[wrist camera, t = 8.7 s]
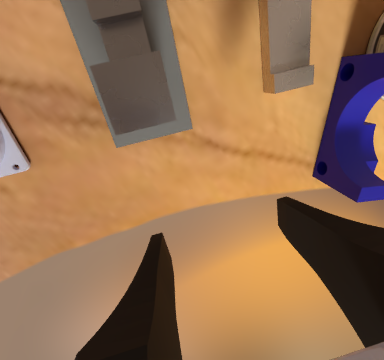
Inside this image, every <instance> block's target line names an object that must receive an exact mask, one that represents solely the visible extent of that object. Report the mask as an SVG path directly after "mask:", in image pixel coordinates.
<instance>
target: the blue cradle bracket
mask: <svg viewBox="0 0 384 360" xmlns="http://www.w3.org/2000/svg"><path fill="white" fill-rule="evenodd" d="M383 95H384V52H383V53H374V54H365V55H356V56H347V57H342V60H341V64H340V68H339V72H338V76H337V80H336V84H335V88H334V92H333V96H332V100H331V104H330V108H329V112H328V116H327V120H326V124H325V128H324V132H323V136H322V140H321V144H320V148H319V152H318V156H317V160H316V164H315V168H314V172H313V177H315V178H317V179H318V180H320V181H322V182H323V183H325V184H327V185H328V186H330V187H332V188H333V189H335V190H337V191H338V192H340V193H342V194H343V195H345V196H347V197H348V198H350V199H352V200H354V201H355V202H365V201H374V200H383V199H384V181H383V180H381V179H380V178H379V177H377V176H376V175H375V174H374V170H375V168H376V165H377V162H378V159H377V157H376V154H375V151H374V145H373V135H374V130H375V126H376V124H372V123H367V122H364V121H365V119H366V117H367V115H368V113H369V111H370V110H371V108H372V107H373V106H374V104H375V103H376V102H377V101H378V100H379V99H380V98H381V97H382V96H383Z"/></svg>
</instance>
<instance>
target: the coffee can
mask: <svg viewBox="0 0 384 360" xmlns="http://www.w3.org/2000/svg"><path fill="white" fill-rule="evenodd" d="M383 52H384V12H383V13H382V15H381V17H380V18H379V20H378V22H377V24H376V26H375V28H374V30H373V32H372V35H371V37H370V40H369V43H368V47H367V52H366V54H374V53H383ZM381 99H383V100H384V95H383V96H382V97H381Z"/></svg>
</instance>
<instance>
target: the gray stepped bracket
mask: <svg viewBox="0 0 384 360" xmlns="http://www.w3.org/2000/svg"><path fill="white" fill-rule="evenodd" d="M85 1H86V4H87V7H88V10H89V13H90V15H91V18H92V21H93V22H94V23H95V24H96V25H97V26H98V28H99V31H100V34H101V37H102V40H103V43H104V46H105V49H106V52H107V55H108V58H109V61H110V62H105V63H101V64H96V65H92V66H90V69H91V71H92V74H93V77H94V79H95V82H96V85H97V87H98V90H99V93H100V95H101V98H102V101H103V103H104V106H105V109H106V111H107V114H108V117H109V119H110V122H111V125H112V127H113V130H114V133H115V135H120V134H124V133H128V132H132V131H136V130H140V129H144V128H148V127H152V126H156V125H160V124H164V123H168V122H172V121H176V116H175V112H174V108H173V104H172V99H171V95H170V91H169V87H168V83H167V78H166V74H165V70H164V66H163V61H162V57H161V53H160V50H158V51H154V52H151V49H150V45H149V41H148V37H147V33H146V30H145V26H144V22H143V18H142V10H141V6H140V2H139V0H85Z"/></svg>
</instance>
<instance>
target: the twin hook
mask: <svg viewBox="0 0 384 360" xmlns="http://www.w3.org/2000/svg"><path fill="white" fill-rule="evenodd" d="M259 15H260V33H261V52H262V70H263V89H264V92H265V93H273V94H276V93H280V92H284V91H288V90H292V89H296V88H300V87H304V86H308V85H312V84H313V79H314V65H309V59H310V29H311V0H259Z"/></svg>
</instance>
